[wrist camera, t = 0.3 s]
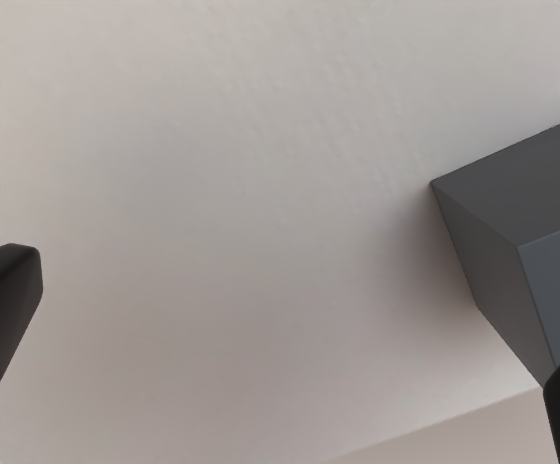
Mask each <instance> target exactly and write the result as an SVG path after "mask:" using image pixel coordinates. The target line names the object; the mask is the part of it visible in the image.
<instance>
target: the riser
mask: <svg viewBox="0 0 560 464" xmlns="http://www.w3.org/2000/svg"><path fill="white" fill-rule="evenodd" d="M431 186H432V188H433V191H434V194H435V196H436V199H437V202H438V204H439V207H440V210H441V212H442V215H443V217H444V220H445V223H446V225H447V228H448V231H449V233H450V236H451V239H452V241H453V244H454V247H455V249H456V252H457V254H458V257H459V260H460V262H461V265H462V268H463V270H464V273H465V276H466V278H467V281H468V284H469V286H470V289H471V291H472V294H473V297H474V299H475V302H476V305H477V307H478V309H479V310H480V311H481V312H482V314H483V315H484V316H485V317H486V319H487V320H488V321H489V322H490V324H491V325H492V326H493V327H494V329H495V330H496V331H497V332H498V334H499V335H500V336H501V337H502V339H503V340H504V341H505V342H506V343H507V345H508V346H509V347H510V348H511V350H512V351H513V352H514V353H515V355H516V356H517V357H518V358H519V360H520V361H521V362H522V363H523V365H524V366H525V367H526V368H527V370H528V371H529V372H530V373H531V374H532V376H533V377H534V378H535V379H536V381H537V382H538V383H539V384H540V386H541V387H542V388H543V387H544V384H545V382H546V380H547V379H548V378H549V377H550V376H551V374H552V373H553V372H554V371H555V370H556V368H557V367H558V366H559V365H560V125H557V126H555V127H553V128H551V129H548V130H546V131H544V132H542V133H539V134H537V135H535V136H533V137H530V138H528V139H526V140H524V141H521V142H519V143H517V144H514V145H512V146H510V147H508V148H505V149H503V150H501V151H499V152H496V153H494V154H492V155H490V156H487V157H485V158H483V159H480V160H478V161H476V162H474V163H471V164H469V165H467V166H465V167H462V168H460V169H458V170H456V171H453V172H451V173H449V174H447V175H444V176H442V177H440V178H437V179H435V180H433V181H431Z"/></svg>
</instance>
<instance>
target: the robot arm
mask: <svg viewBox="0 0 560 464" xmlns="http://www.w3.org/2000/svg"><path fill="white" fill-rule="evenodd" d="M42 293H43V280H42V269H41V259H40V253H39V251H38V250H37V249H36V248H34V247H30V246H25V245H20V244H14V243H9V244H6V245H3V246H0V381H1V379H2V377H3V375H4V373H5V371H6V369H7V367H8V365H9V363H10V361H11V359H12V357H13V355H14V353H15V351H16V349H17V347H18V345H19V343H20V341H21V339H22V337H23V335H24V333H25V331H26V329H27V327H28V325H29V323H30V321H31V319H32V317H33V315H34V313H35V311H36V309H37V307H38V305H39V303H40V300H41V297H42ZM543 398H544V402H545V406H546V410H547V414H548V419H549V423H550V427H551V432H552V436H553V440H554V445H555V449H556V453H557V457H558V462H559V464H560V365H559V366H558V367H557V368H556V370H555V371H554V372H553V373H552V374H551V376H550V377H549V378H548V379H547V380H546V382H545V384H544V387H543Z"/></svg>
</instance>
